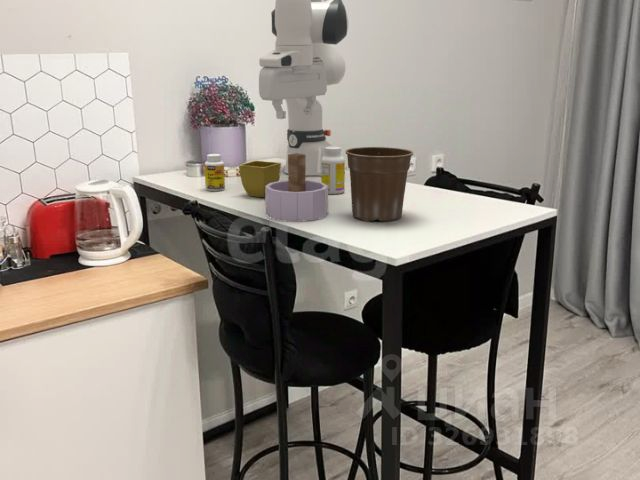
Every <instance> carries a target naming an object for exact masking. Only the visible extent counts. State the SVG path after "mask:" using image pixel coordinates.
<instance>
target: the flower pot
mask: <svg viewBox="0 0 640 480" xmlns="http://www.w3.org/2000/svg"><path fill="white" fill-rule="evenodd" d="M281 166H282V163H281V162H278V161H277V162H275V161H264V160H253V161H249V162H245V163H241V164H238V170H239V176H240V180H241V185H242V187H243V189H244V190H245V192H246V194H247V195H248V196H249V197H258V198H265V186H266V185H268V184H269V183H273V182H278V181H280V176H281Z"/></svg>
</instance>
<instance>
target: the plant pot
mask: <svg viewBox="0 0 640 480" xmlns="http://www.w3.org/2000/svg"><path fill="white" fill-rule="evenodd" d="M345 154H346V156H347V157H346V158H347V169H349V177H350V181H349V182H350V196H351V198H350V199H351V214H352V217H354V218H356V219H358V220H362V221H369V222H374V221H376V220H378V221H380V222H392V221H397V220H399V219H401V218H402V214H403V208H404V207H403V206H404V201H405V191H406V187H407V178H408V173H409V172H408V171H409V170H410V167H411V159H412V156H413V155H414V151H412V150H409V149H406V148H400V147H399V148H398V147H389V146H386V147H384V146H365V147H364V146H363V147H361V146H360V147H351V148H348V149H346V150H345Z"/></svg>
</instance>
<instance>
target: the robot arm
mask: <svg viewBox="0 0 640 480" xmlns="http://www.w3.org/2000/svg"><path fill="white" fill-rule="evenodd" d="M345 6H346V5H344V3H343V0H275V5H274V9H273V10H272V11H271V33H272V34H273V35H274V36H275V37H276V40H275V43H274V45H275V46H274V48H275V49H274V50H272V51H270V52H268V53H267V54H264V55H262V56H261V57H259V59H258V61H259V62H258V63H259V66H260V67H262V68H261V69H260V70H259V72H258V74H259V75H258V92H259V93H258V95H259V96H260V98H261V100H263V101H271V102H272V103H271V104H272V106H273V108H274V111H275V114H276V115H275V116H276V119H278V120H283V119H286V118H287V119H288V129H287V130H286V131H287V132H286V139H287V143H288V144H287V147H286V148H287V149H286V157H285V158H286V159H285V165H284V167H283V168H284V170H283V173H284V174H287V175H288V155H289V154H295V153H298V154H305V155H306V176H319V177H320V176H321V160H322V158H323V157H324V156H325V154H326V153H325V147H334V146H333V145H332V144H330V142H328V141H327V137H330V136H331V135H332V131H331V129H323V106H322V104H321V103H320V101H318V100H317V97H320V96H325V95H326V93H327V90H328V86H332V85H337V84H339V83H340V82H341V81H342V80H343V79H344V77H345V72H346V62H345V59H344V58H343V56H342V55H341V54H340V52H338V51H337V50H336V49H335V48H334V47H333V46H332V45H338V44H339V43H340V42H341V41H342V40H344V39H345V38H346V36H347V34H348V31H349V16H348V13H347V11H346V7H345ZM283 100H285V102H286V106H287V112H286V110H284V109H283V107H282V105H283V104H284V103H283ZM326 136H327V137H326ZM346 170H348V165H345V171H346Z"/></svg>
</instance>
